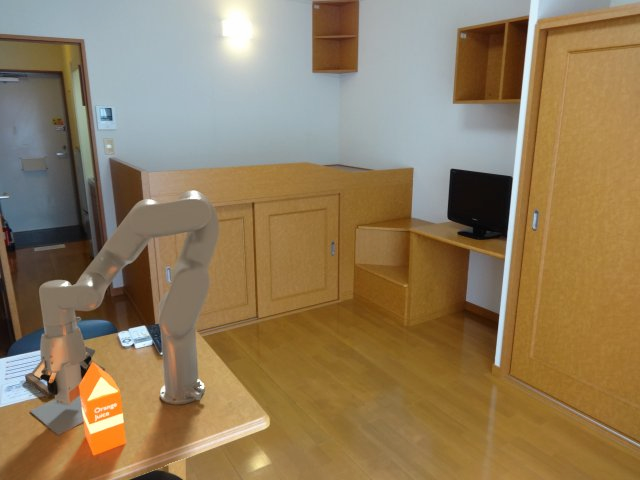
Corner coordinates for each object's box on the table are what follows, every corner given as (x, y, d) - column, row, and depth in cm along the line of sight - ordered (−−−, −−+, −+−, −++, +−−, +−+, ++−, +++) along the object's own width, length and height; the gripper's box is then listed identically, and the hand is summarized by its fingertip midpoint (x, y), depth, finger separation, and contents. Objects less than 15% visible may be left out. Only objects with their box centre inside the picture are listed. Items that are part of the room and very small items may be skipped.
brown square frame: (105, 374, 149) (104, 368, 149) (48, 398, 136) (47, 392, 136) (81, 359, 158) (80, 353, 157) (25, 381, 145) (24, 375, 144)
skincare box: (69, 406, 127) (63, 365, 124) (55, 403, 128) (49, 364, 125) (84, 393, 133) (79, 354, 130) (71, 391, 134) (66, 353, 130)
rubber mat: (113, 407, 132) (113, 406, 132) (57, 435, 121) (57, 434, 121) (84, 387, 142) (84, 386, 142) (30, 411, 130) (29, 410, 130)
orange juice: (117, 425, 125) (109, 356, 120) (126, 443, 118) (118, 371, 113) (84, 436, 121) (75, 365, 115) (92, 456, 114) (82, 381, 109)
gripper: (85, 313, 134) (92, 369, 138) (18, 334, 120) (28, 396, 125) (99, 320, 129) (106, 378, 134) (31, 343, 116) (41, 406, 120)
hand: (68, 386), depth 129 cm, fingers closed on skincare box, 7 cm apart
